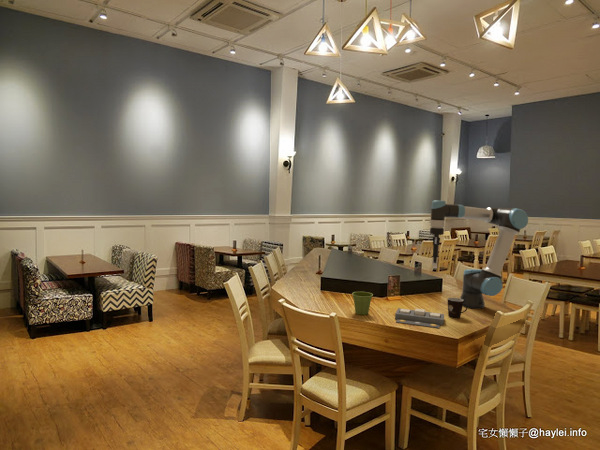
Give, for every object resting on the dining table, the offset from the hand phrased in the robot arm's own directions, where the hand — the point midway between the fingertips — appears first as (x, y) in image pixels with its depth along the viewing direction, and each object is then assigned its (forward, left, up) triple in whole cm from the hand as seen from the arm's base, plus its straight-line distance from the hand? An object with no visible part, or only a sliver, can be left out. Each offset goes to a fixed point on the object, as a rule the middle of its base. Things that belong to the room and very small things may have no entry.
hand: (434, 268), depth 248 cm
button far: (+14, +16, -25) cm, 33 cm away
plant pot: (+37, +20, -27) cm, 50 cm away
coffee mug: (-13, +3, -27) cm, 30 cm away
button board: (+6, +16, -26) cm, 31 cm away
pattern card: (+6, +26, -26) cm, 37 cm away
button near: (-2, +16, -25) cm, 30 cm away
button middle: (+5, +16, -24) cm, 29 cm away
